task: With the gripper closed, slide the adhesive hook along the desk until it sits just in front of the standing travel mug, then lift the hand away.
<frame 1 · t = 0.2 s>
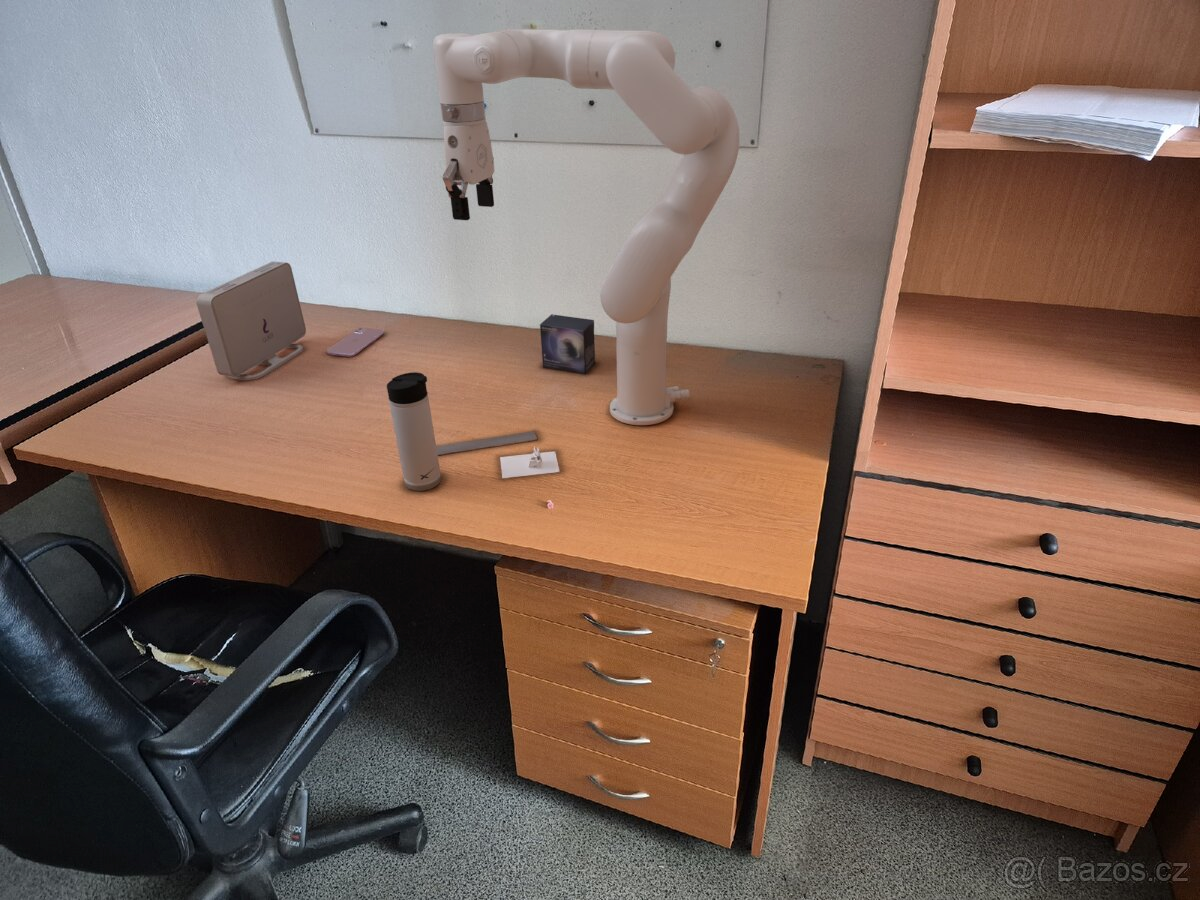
hand: (474, 212, 145), 37 cm above the table, tool pointing down, fingers open, 9 cm apart
adhesive hook: (529, 465, 139), on the table
travel mug: (424, 482, 135), on the table
network device: (266, 362, 180), on the table
mobile phone: (356, 344, 187), on the table
small box: (569, 366, 174), on the table
steel ruler: (483, 444, 145), on the table
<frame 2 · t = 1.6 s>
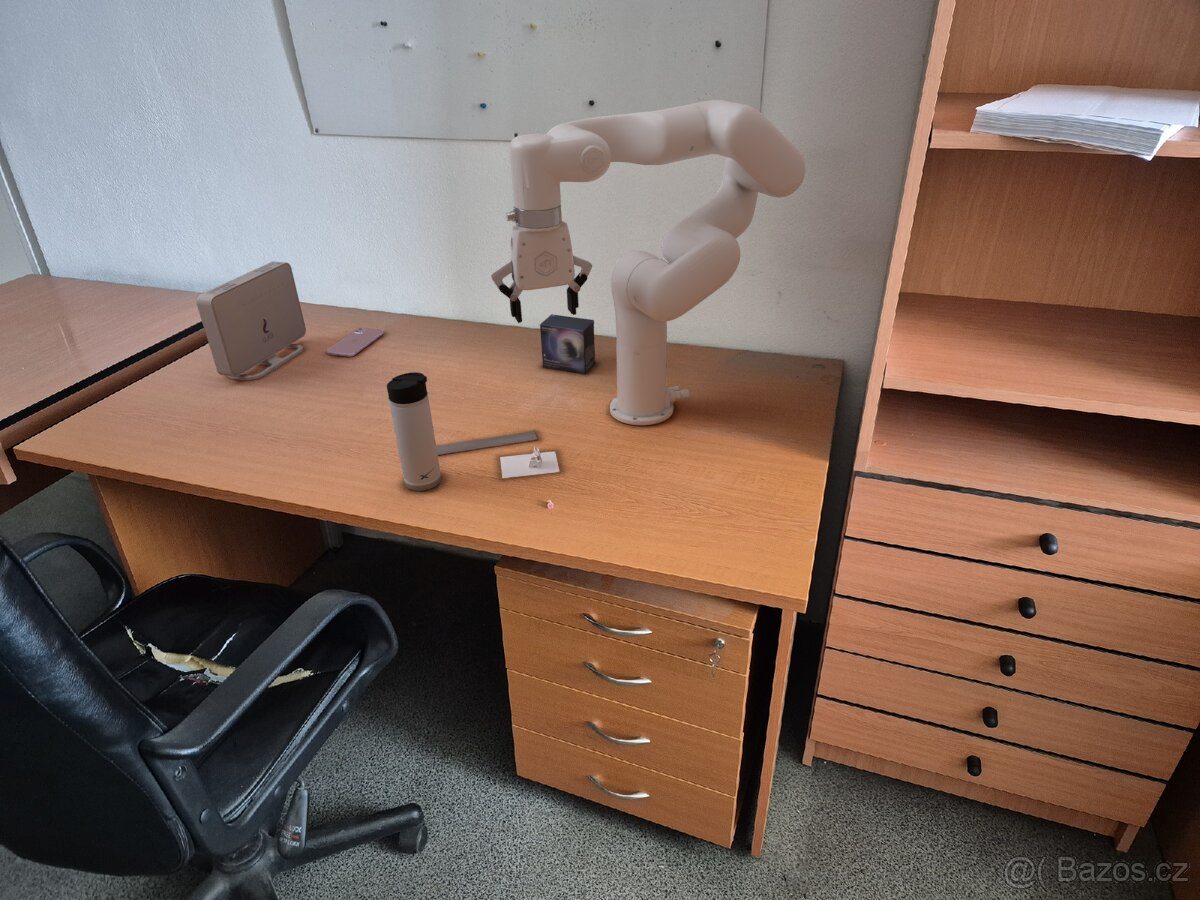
hand: (545, 316, 135), 24 cm above the table, tool pointing down, fingers open, 9 cm apart
nothing on the table moved.
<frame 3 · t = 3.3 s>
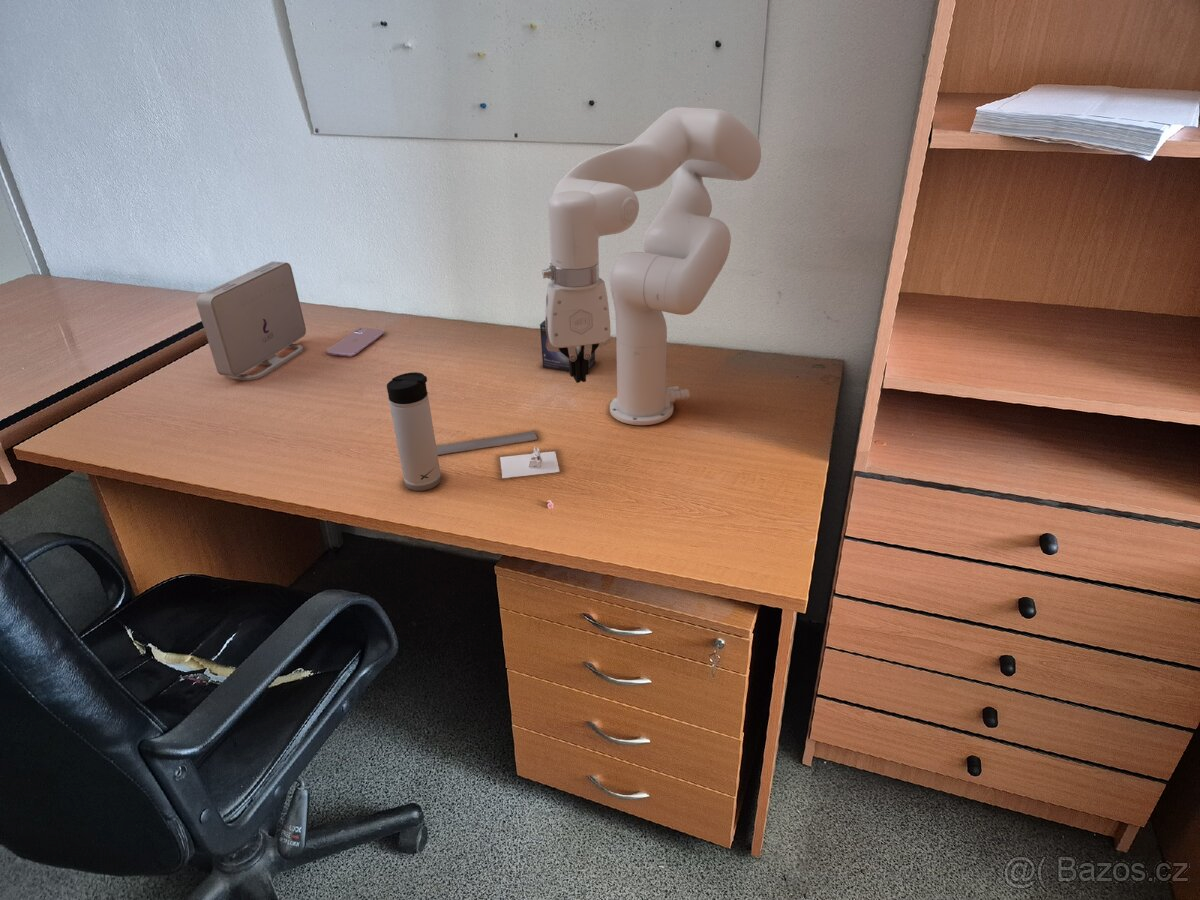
hand: (579, 378, 133), 15 cm above the table, tool pointing down, fingers closed
nothing on the table moved.
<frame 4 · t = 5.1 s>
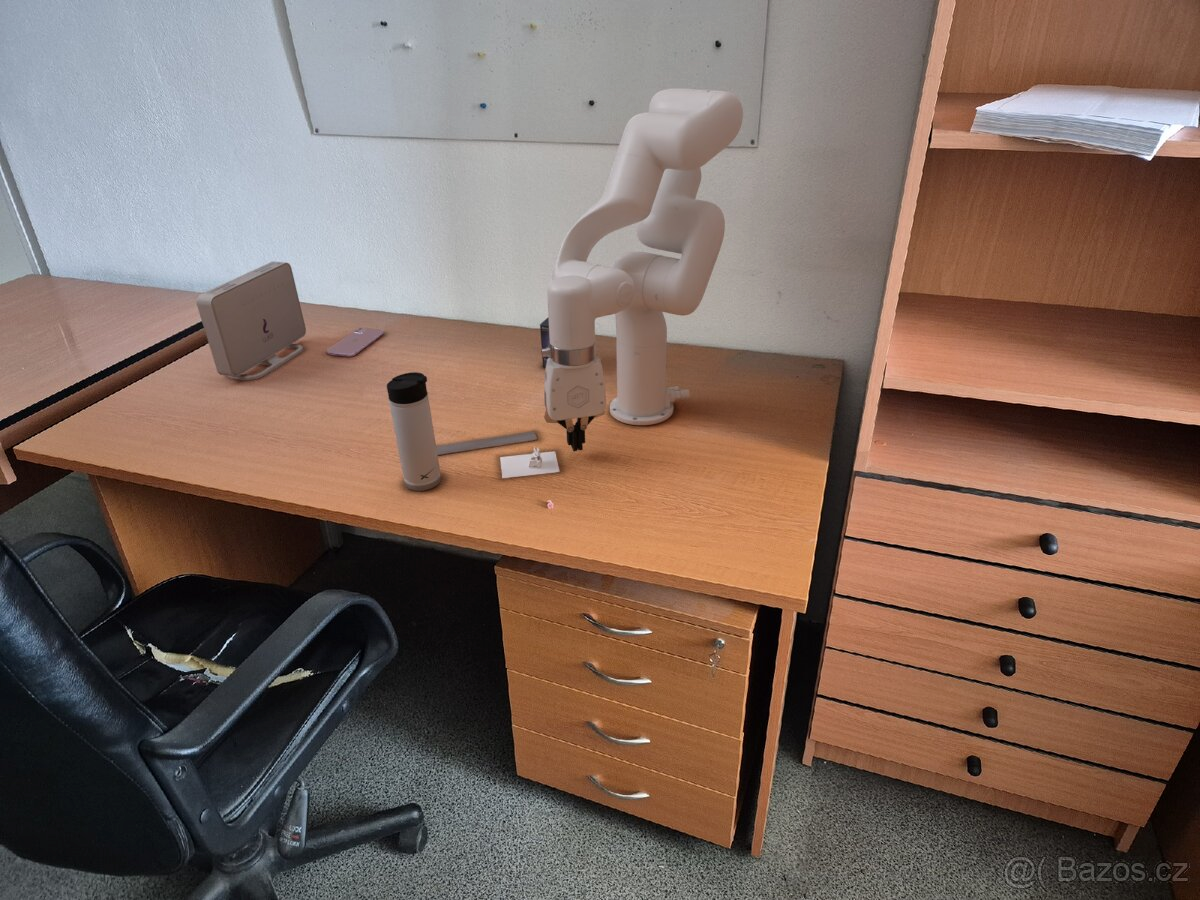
hand: (576, 446, 139), 2 cm above the table, tool pointing down, fingers closed
nothing on the table moved.
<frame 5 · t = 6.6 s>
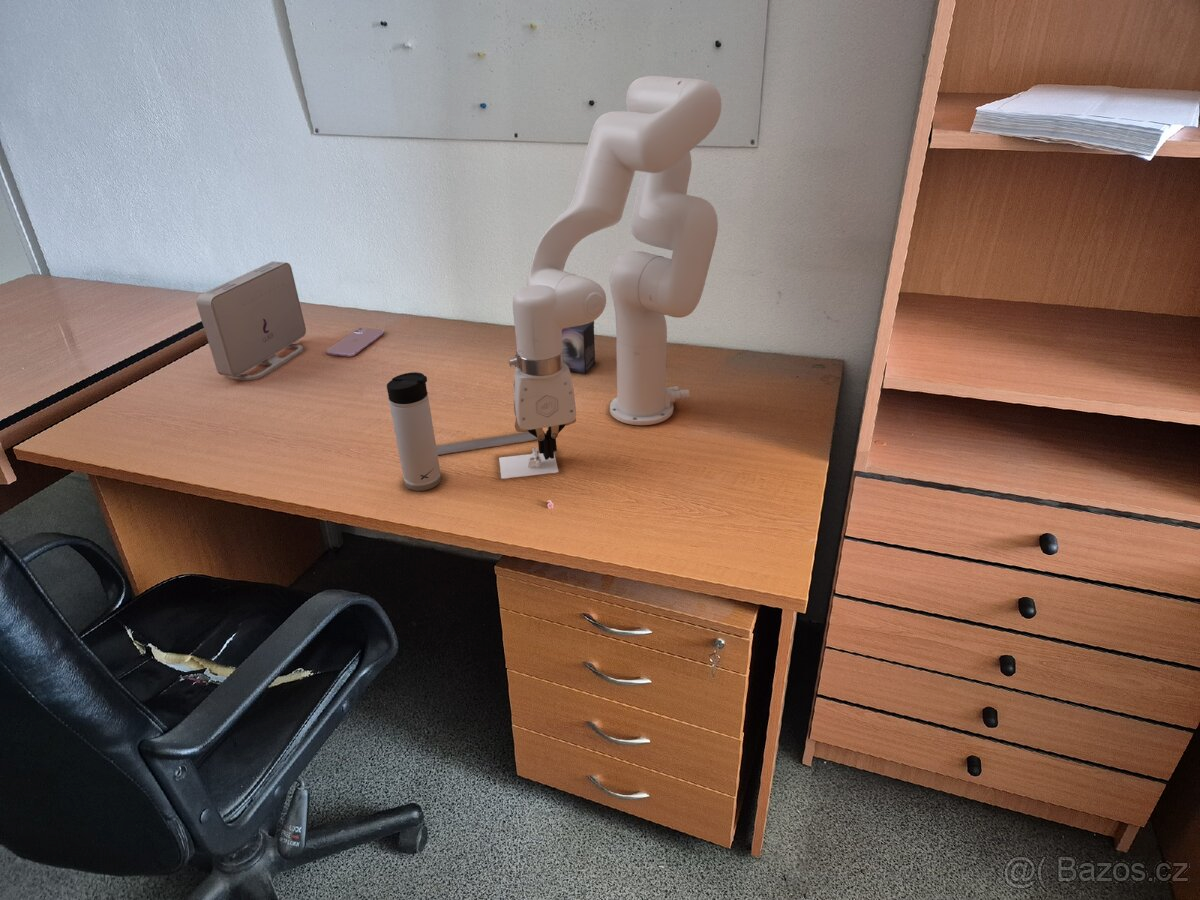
hand: (548, 455, 139), 1 cm above the table, tool pointing down, fingers closed
adhesive hook: (528, 465, 139), on the table, touching gripper
everything else where it was.
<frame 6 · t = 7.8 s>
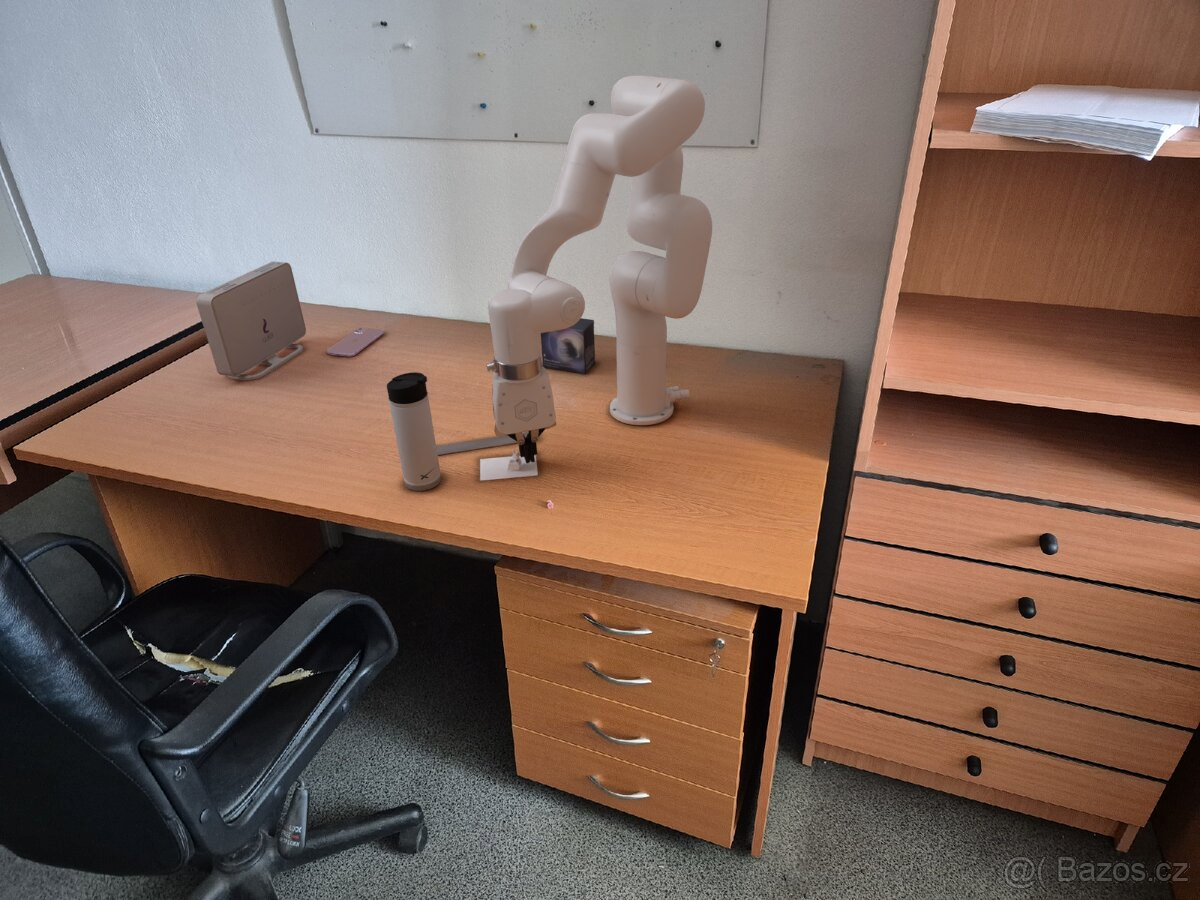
hand: (528, 458, 138), 1 cm above the table, tool pointing down, fingers closed
adhesive hook: (508, 468, 138), on the table, touching gripper
everything else where it was.
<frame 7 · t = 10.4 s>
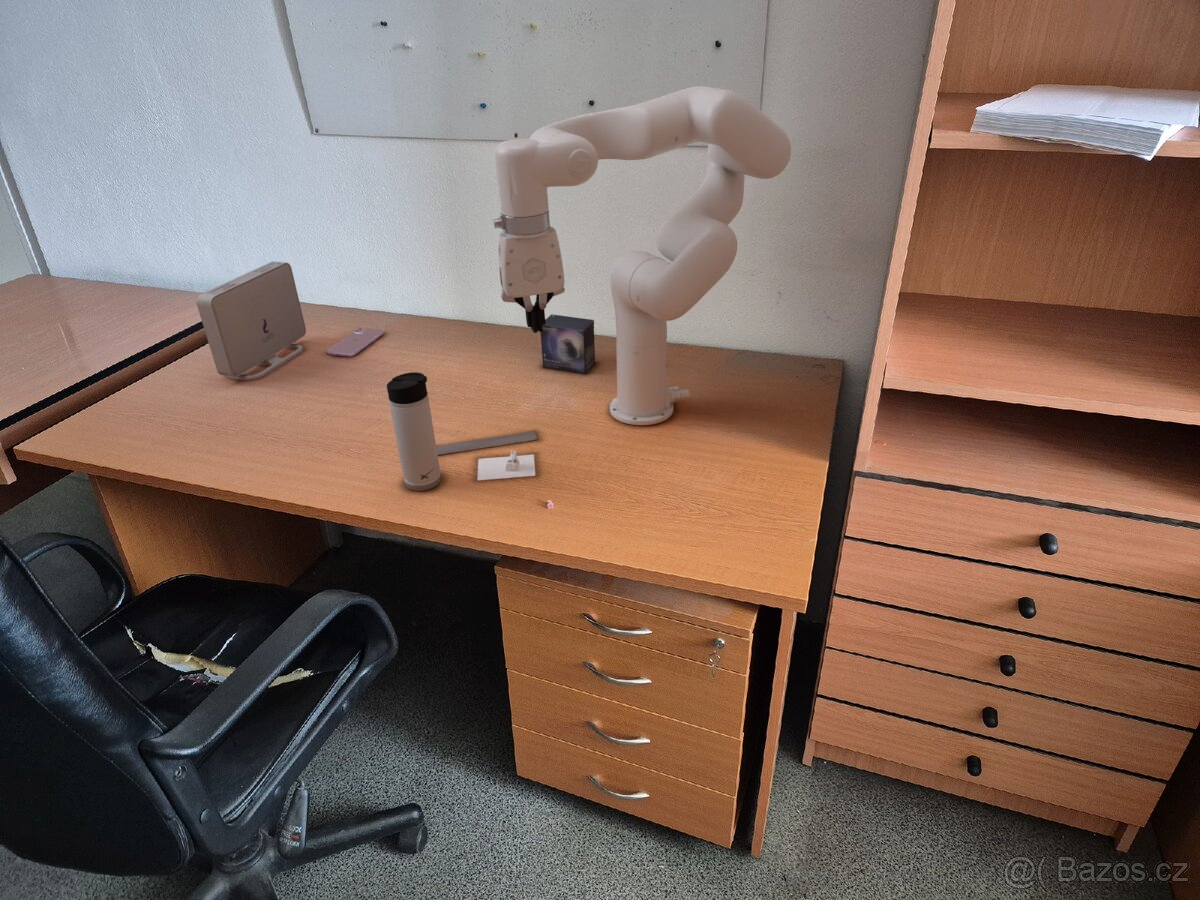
hand: (536, 329, 134), 22 cm above the table, tool pointing down, fingers closed
adhesive hook: (506, 468, 138), on the table
everything else where it was.
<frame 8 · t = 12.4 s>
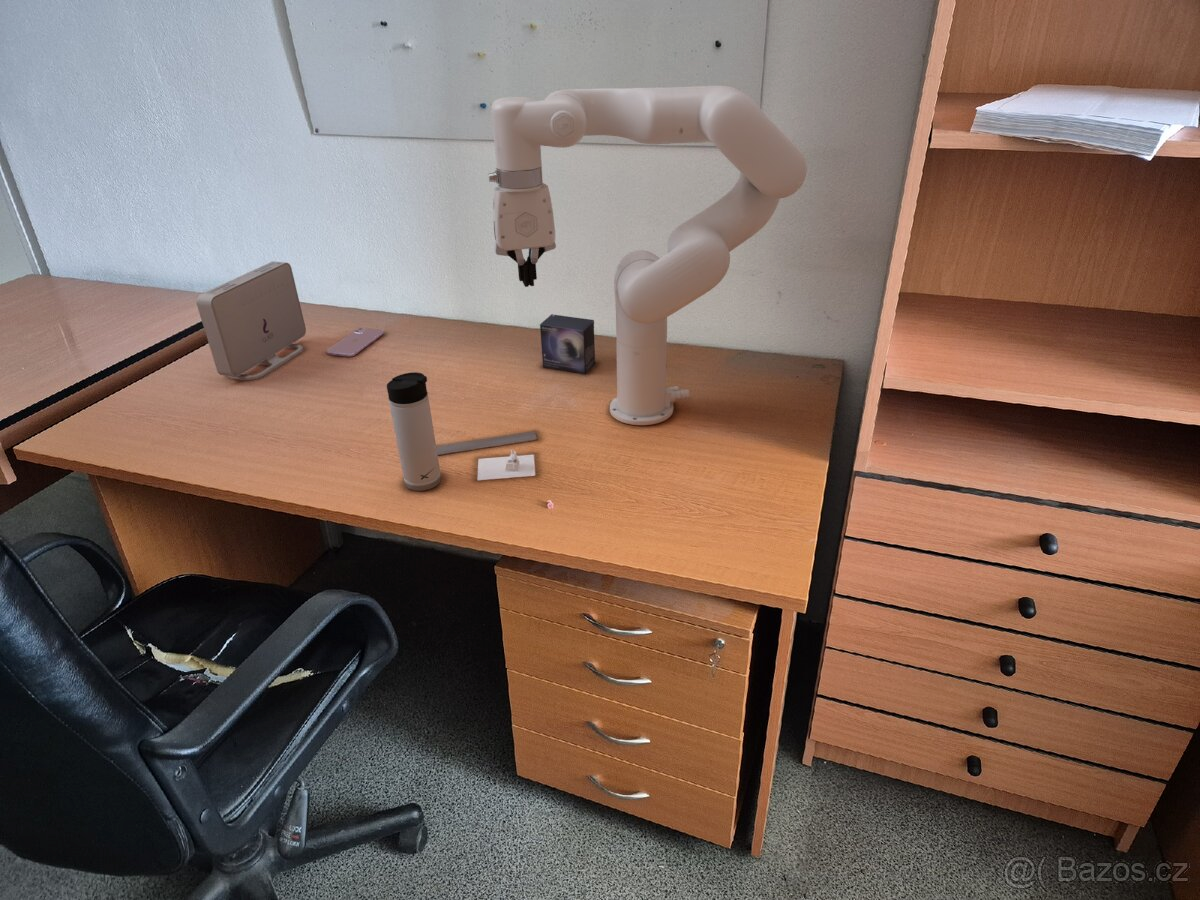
hand: (528, 283, 140), 27 cm above the table, tool pointing down, fingers closed
nothing on the table moved.
at the end: adhesive hook inside the target area on the table beside the travel mug (2.7 cm from its centre), on the table; adhesive hook moved 4.1 cm from its start; travel mug tilted 0° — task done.
